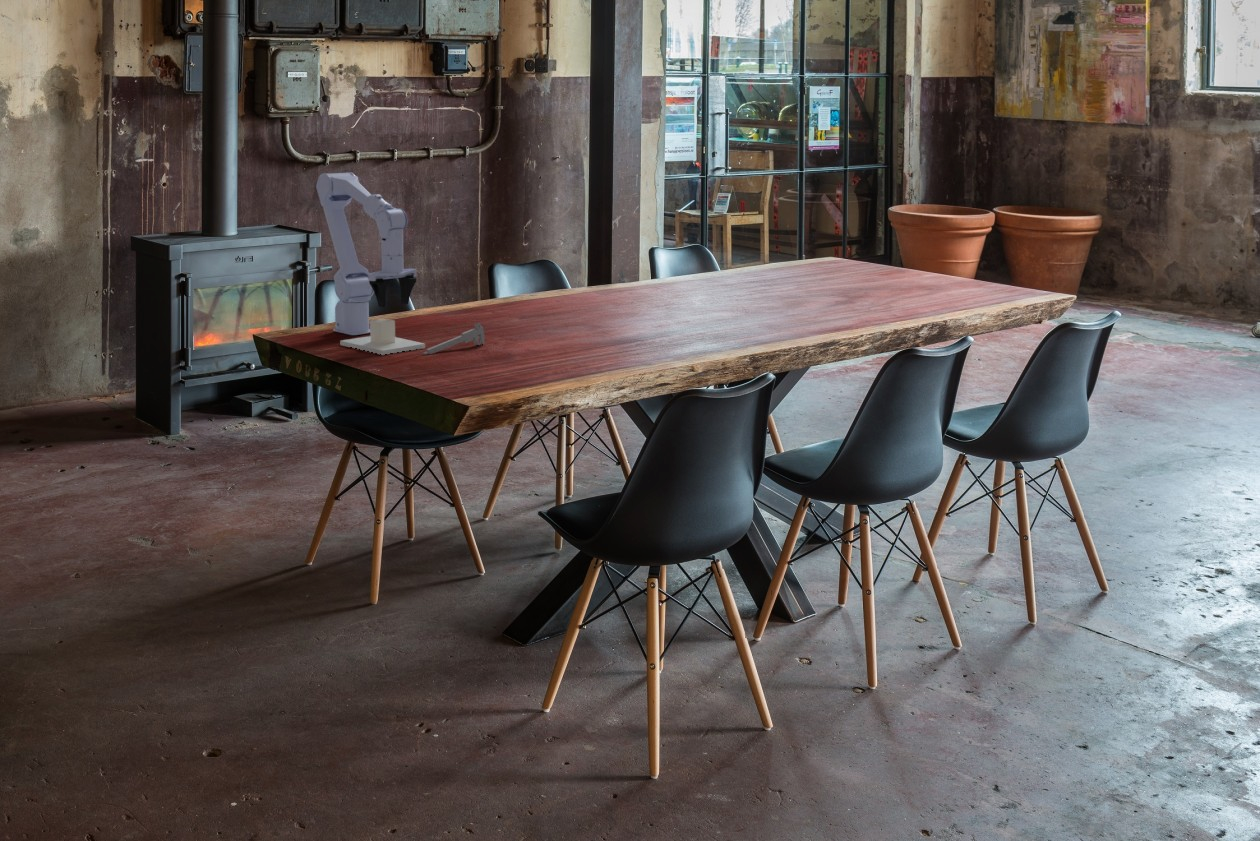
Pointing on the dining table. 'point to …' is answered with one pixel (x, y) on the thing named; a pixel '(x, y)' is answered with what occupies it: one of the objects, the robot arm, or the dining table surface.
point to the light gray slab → (383, 349)
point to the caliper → (460, 339)
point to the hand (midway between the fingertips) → (393, 305)
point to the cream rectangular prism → (382, 331)
